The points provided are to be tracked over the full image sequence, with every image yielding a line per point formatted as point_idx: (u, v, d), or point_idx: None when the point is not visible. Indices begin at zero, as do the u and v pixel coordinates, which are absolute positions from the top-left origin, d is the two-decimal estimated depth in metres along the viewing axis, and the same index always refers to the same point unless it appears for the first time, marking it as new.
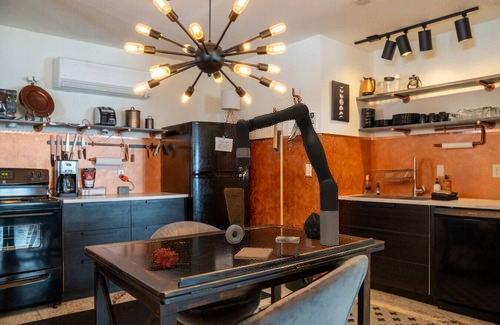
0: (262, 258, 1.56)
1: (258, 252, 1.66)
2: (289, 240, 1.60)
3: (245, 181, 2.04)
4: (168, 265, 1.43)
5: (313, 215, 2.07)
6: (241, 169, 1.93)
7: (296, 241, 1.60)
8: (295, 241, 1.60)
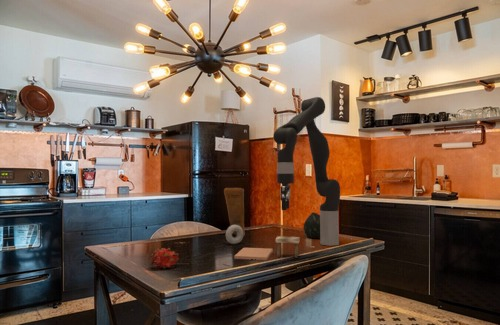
0: (262, 258, 1.56)
1: (258, 252, 1.66)
2: (289, 240, 1.60)
3: (287, 202, 1.69)
4: (168, 265, 1.43)
5: (313, 215, 2.07)
6: (284, 188, 1.58)
7: (296, 241, 1.60)
8: (295, 241, 1.60)
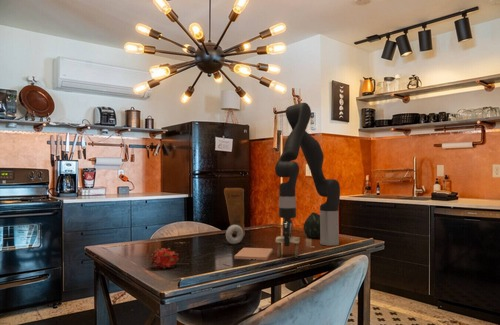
0: (262, 258, 1.56)
1: (258, 252, 1.66)
2: (289, 240, 1.60)
3: None
4: (168, 265, 1.43)
5: (313, 215, 2.07)
6: (287, 226, 1.57)
7: (296, 241, 1.60)
8: (295, 241, 1.60)
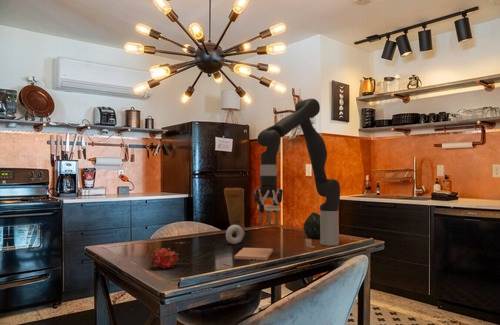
0: (262, 258, 1.56)
1: (258, 252, 1.66)
2: None
3: None
4: (168, 265, 1.43)
5: (313, 215, 2.07)
6: (255, 192, 1.62)
7: (267, 208, 1.61)
8: (266, 208, 1.61)
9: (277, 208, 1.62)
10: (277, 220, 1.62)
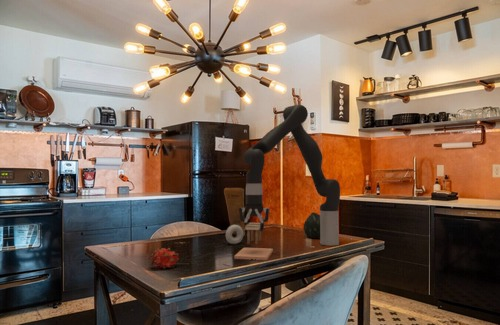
0: (262, 258, 1.56)
1: (258, 252, 1.66)
2: None
3: None
4: (168, 265, 1.43)
5: (313, 215, 2.07)
6: None
7: None
8: None
9: (255, 227, 1.61)
10: (256, 239, 1.62)
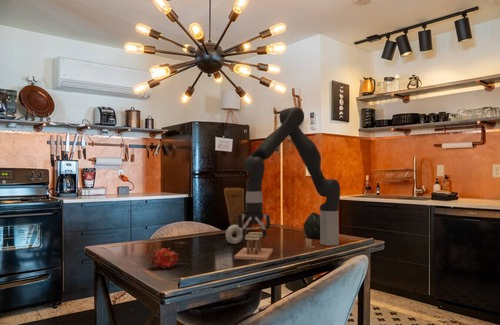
0: (262, 258, 1.56)
1: (258, 252, 1.66)
2: None
3: None
4: (168, 265, 1.43)
5: (313, 215, 2.07)
6: None
7: None
8: None
9: (255, 238, 1.61)
10: (256, 250, 1.62)
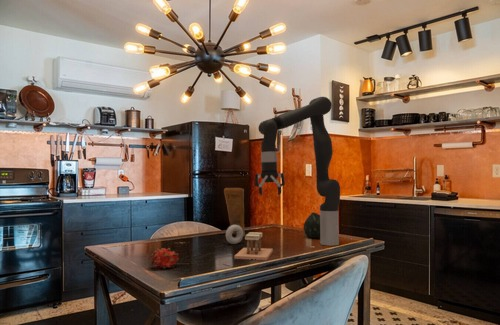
0: (262, 258, 1.56)
1: (258, 252, 1.66)
2: None
3: (278, 189, 1.78)
4: (168, 265, 1.43)
5: (313, 215, 2.07)
6: (255, 176, 1.79)
7: None
8: None
9: (255, 238, 1.61)
10: (256, 250, 1.62)
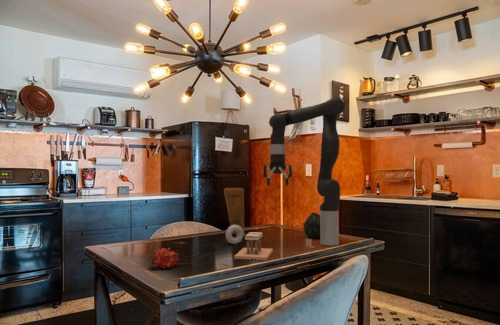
0: (262, 258, 1.56)
1: (258, 252, 1.66)
2: None
3: None
4: (168, 265, 1.43)
5: (313, 215, 2.07)
6: (264, 167, 1.87)
7: None
8: None
9: (255, 238, 1.61)
10: (256, 250, 1.62)
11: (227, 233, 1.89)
